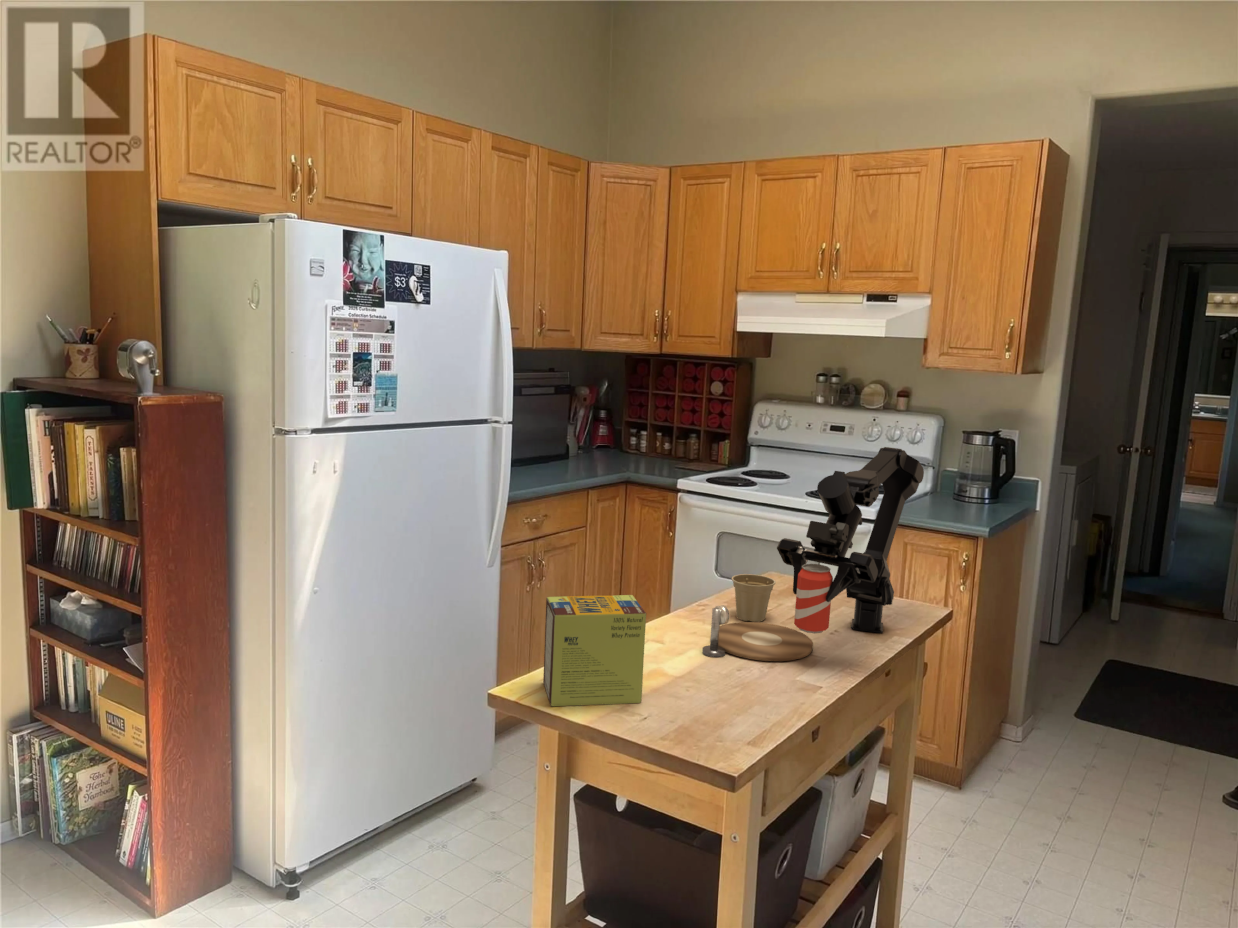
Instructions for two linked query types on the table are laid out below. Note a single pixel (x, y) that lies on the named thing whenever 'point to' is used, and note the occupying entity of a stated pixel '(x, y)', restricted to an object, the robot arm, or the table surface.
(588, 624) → the protein box
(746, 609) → the flower pot
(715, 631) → the metal door stop
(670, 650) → the table surface
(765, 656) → the lazy susan
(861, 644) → the table surface
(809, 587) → the beverage can
